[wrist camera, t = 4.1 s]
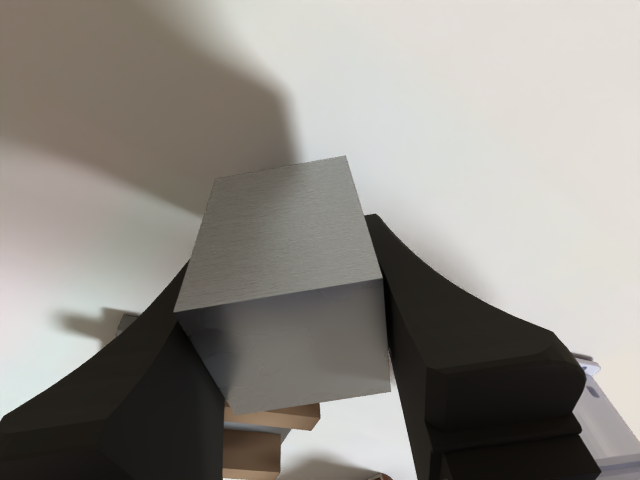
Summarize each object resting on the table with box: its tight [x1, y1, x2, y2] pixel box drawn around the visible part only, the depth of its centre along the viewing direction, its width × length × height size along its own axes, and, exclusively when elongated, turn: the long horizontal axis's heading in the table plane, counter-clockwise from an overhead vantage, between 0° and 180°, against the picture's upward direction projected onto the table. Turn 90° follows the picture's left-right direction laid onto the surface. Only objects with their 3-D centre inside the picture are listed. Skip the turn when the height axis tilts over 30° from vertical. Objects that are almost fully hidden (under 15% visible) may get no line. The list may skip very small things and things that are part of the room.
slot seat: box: [116, 315, 320, 480], centre depth 23 cm, size 12×12×4 cm
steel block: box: [173, 156, 391, 415], centre depth 12 cm, size 4×4×6 cm
